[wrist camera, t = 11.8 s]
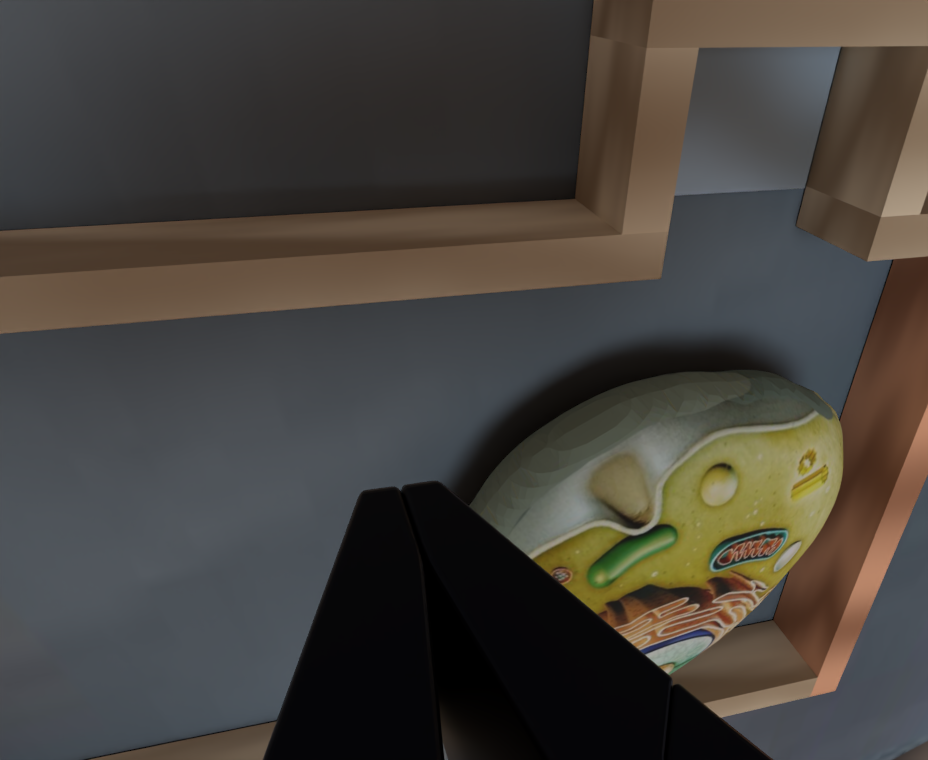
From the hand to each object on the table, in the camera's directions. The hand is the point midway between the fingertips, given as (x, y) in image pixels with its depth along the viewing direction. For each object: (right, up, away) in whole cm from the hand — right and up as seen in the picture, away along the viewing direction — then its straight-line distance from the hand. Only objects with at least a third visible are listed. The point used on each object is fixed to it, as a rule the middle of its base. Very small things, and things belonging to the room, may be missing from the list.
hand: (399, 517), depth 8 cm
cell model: (+5, -3, +18) cm, 19 cm away
